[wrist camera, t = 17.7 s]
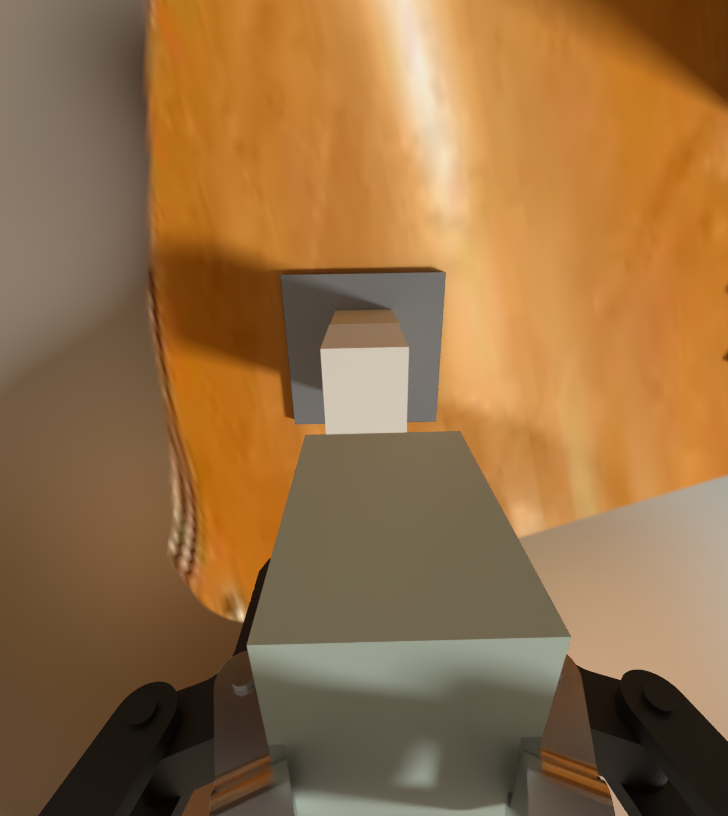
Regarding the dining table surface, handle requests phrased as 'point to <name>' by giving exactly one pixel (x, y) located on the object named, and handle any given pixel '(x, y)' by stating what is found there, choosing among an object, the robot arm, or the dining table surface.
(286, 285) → the board
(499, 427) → the dining table surface
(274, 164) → the dining table surface
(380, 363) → the off white brick
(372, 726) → the sage brick
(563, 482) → the dining table surface
